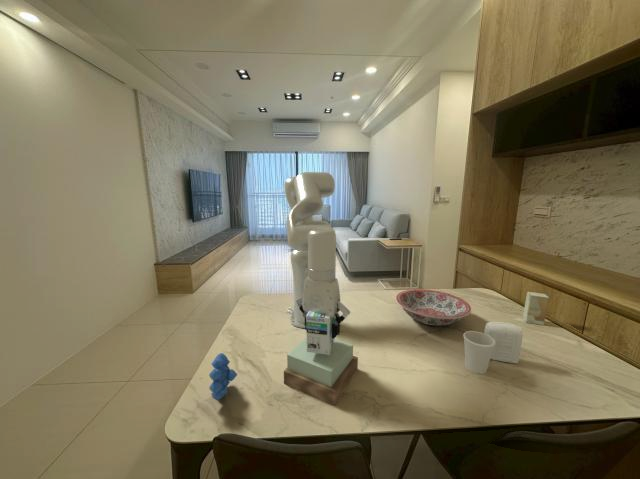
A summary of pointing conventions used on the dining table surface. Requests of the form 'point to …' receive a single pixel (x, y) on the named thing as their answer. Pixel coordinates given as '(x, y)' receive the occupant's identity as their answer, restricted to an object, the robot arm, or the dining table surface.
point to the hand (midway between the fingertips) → (321, 331)
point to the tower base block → (320, 389)
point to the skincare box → (535, 308)
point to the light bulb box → (319, 333)
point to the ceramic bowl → (433, 306)
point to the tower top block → (320, 362)
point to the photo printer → (505, 341)
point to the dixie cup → (477, 351)
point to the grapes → (221, 376)
